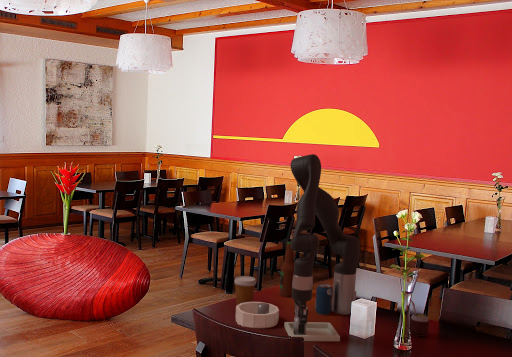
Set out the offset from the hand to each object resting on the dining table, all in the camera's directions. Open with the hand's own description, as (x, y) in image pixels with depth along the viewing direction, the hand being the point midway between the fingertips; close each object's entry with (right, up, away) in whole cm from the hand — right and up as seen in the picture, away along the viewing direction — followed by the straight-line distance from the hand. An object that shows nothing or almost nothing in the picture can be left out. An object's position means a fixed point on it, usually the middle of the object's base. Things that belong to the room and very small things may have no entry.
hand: (299, 330), depth 215 cm
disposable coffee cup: (-22, +2, +31) cm, 38 cm away
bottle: (-2, +3, +51) cm, 51 cm away
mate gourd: (+46, -4, +6) cm, 47 cm away
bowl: (-16, 0, +12) cm, 20 cm away
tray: (+4, -2, +1) cm, 5 cm away
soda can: (+12, 0, +28) cm, 30 cm away
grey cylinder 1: (-14, +1, +12) cm, 18 cm away
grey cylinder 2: (0, -1, 0) cm, 1 cm away
